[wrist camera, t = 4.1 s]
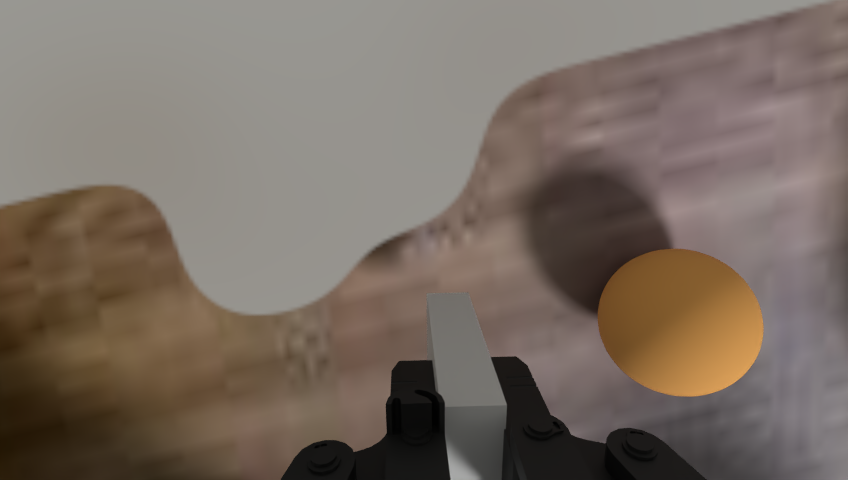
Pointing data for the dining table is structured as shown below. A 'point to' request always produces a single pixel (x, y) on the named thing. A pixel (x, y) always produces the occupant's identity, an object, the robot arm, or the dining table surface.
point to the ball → (680, 322)
